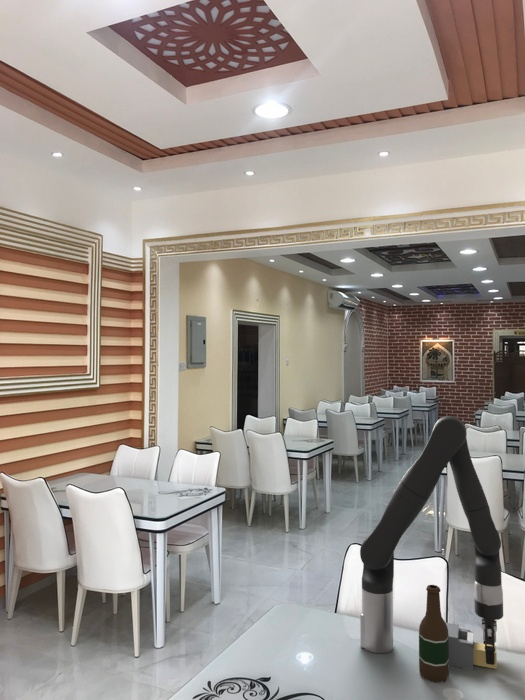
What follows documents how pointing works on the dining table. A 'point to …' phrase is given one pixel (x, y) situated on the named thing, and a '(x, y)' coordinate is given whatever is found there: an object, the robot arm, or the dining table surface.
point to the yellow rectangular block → (482, 655)
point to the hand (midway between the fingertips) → (490, 656)
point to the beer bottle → (433, 640)
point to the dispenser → (460, 646)
